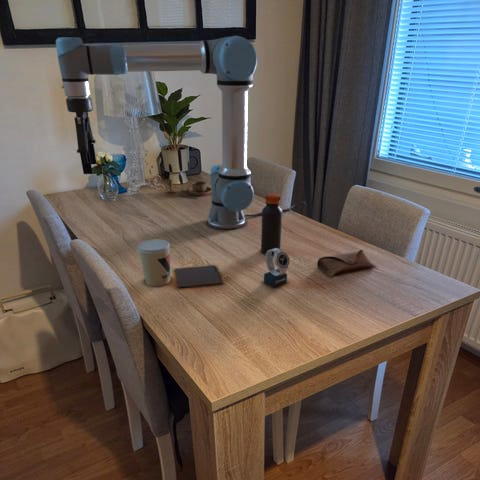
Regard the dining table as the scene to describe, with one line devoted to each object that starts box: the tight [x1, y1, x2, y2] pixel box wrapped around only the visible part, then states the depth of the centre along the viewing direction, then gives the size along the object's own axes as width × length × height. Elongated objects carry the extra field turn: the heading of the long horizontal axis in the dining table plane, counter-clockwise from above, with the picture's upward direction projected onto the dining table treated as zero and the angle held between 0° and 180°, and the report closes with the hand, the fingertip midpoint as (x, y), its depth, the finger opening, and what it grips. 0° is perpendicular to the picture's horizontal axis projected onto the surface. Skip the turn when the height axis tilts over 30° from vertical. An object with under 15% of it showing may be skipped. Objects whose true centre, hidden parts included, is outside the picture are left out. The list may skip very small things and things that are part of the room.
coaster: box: [175, 264, 222, 289], centre depth 140 cm, size 13×13×1 cm
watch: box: [263, 248, 290, 289], centre depth 134 cm, size 6×8×11 cm
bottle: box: [260, 193, 283, 256], centre depth 153 cm, size 7×7×20 cm
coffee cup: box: [137, 238, 171, 287], centre depth 135 cm, size 9×9×12 cm
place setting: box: [167, 179, 211, 199], centre depth 219 cm, size 18×20×6 cm
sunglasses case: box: [316, 249, 375, 277], centre depth 146 cm, size 18×7×7 cm, turn 115°
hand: (90, 168), depth 146 cm, fingers open, 13 cm apart
